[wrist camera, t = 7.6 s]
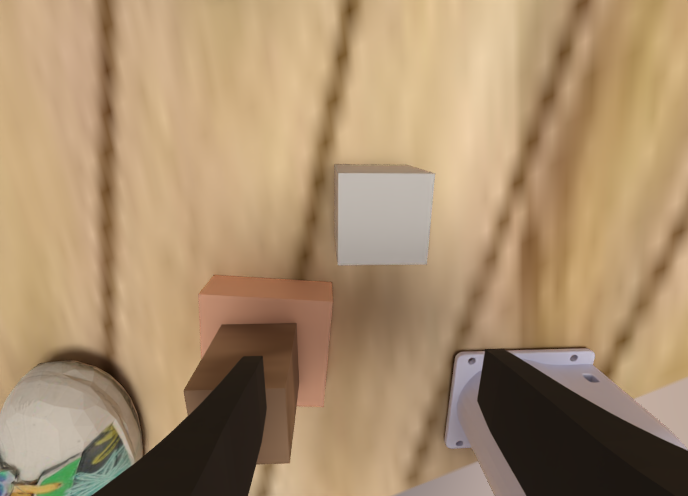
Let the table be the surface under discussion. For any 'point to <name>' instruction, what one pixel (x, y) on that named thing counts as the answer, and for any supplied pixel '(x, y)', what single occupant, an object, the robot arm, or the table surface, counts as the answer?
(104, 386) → the sneaker
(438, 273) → the table surface
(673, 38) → the table surface
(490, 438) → the robot arm
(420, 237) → the light grey block
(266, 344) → the walnut block
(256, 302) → the terracotta tile
